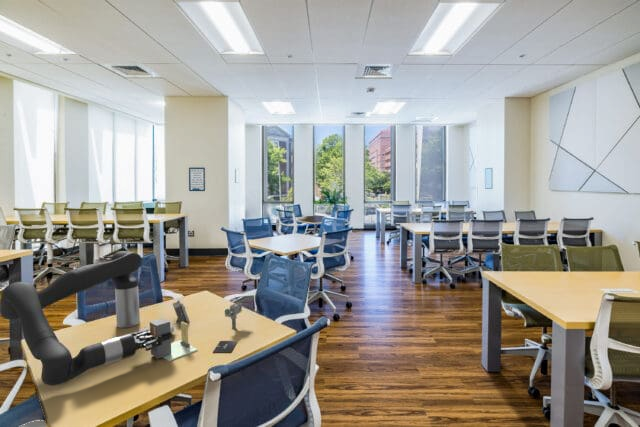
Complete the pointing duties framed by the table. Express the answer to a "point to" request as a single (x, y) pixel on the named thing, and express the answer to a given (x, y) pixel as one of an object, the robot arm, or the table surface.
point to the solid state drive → (225, 347)
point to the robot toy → (149, 328)
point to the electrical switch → (180, 311)
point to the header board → (181, 345)
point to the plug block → (158, 329)
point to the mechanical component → (233, 313)
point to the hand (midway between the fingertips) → (167, 332)
